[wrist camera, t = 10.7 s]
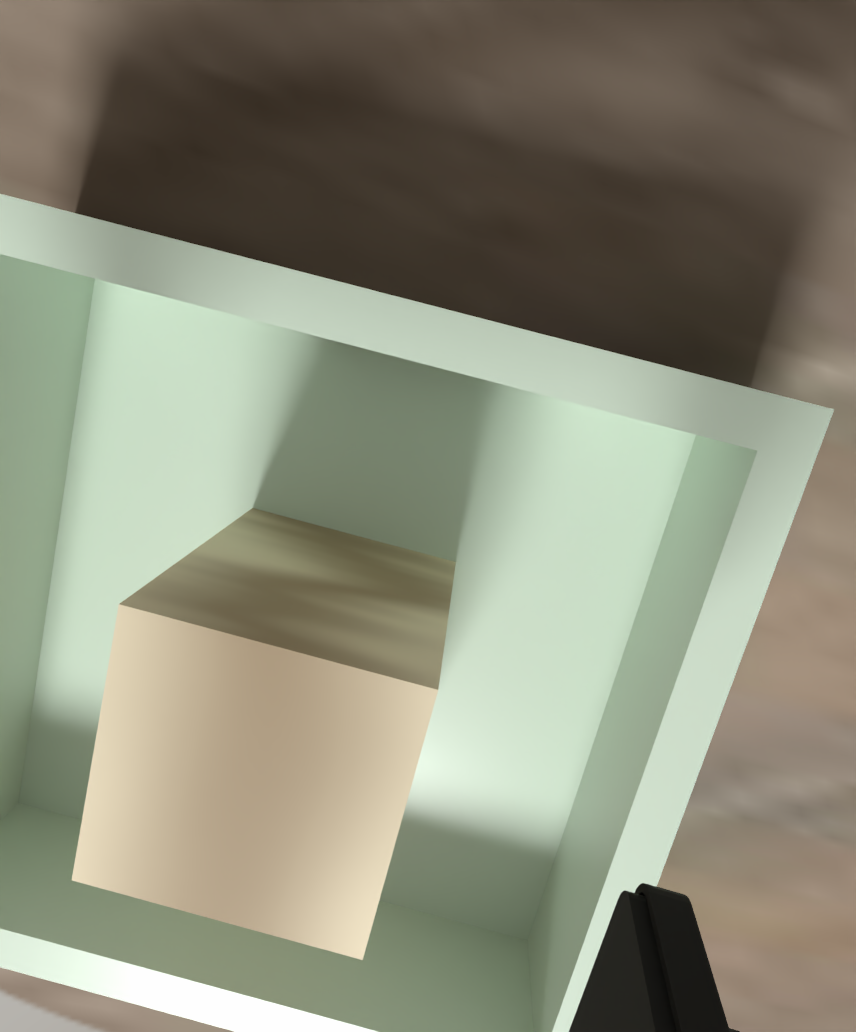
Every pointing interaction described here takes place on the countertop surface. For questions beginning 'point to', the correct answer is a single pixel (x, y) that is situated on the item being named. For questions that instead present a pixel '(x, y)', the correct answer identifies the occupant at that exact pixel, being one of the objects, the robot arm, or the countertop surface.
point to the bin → (396, 521)
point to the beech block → (266, 729)
